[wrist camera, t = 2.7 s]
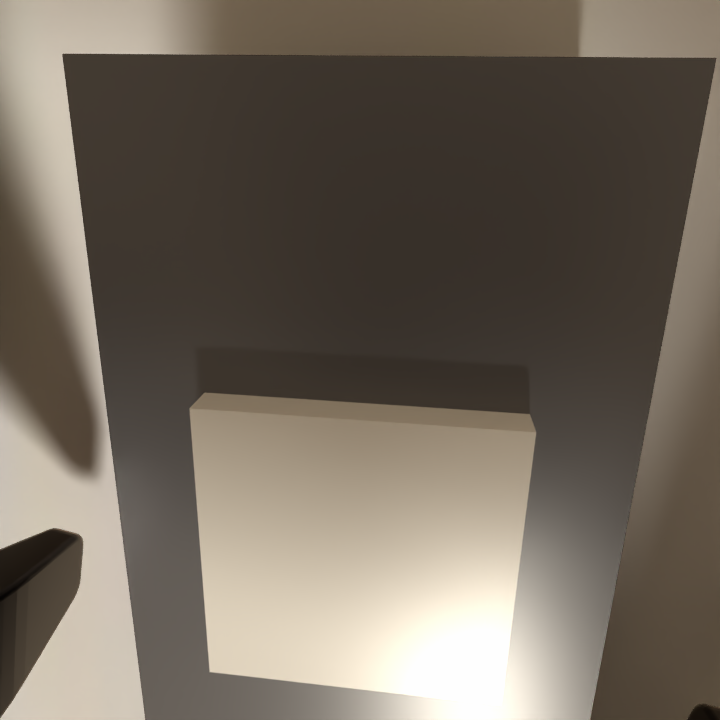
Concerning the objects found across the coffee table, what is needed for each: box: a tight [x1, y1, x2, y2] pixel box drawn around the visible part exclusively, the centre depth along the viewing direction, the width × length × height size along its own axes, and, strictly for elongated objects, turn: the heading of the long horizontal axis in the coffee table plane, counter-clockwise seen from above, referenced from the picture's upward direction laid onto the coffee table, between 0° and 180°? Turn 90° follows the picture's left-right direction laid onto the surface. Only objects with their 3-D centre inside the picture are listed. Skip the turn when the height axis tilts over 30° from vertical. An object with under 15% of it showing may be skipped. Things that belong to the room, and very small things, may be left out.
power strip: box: [62, 54, 716, 720], centre depth 8 cm, size 4×14×5 cm, turn 179°
